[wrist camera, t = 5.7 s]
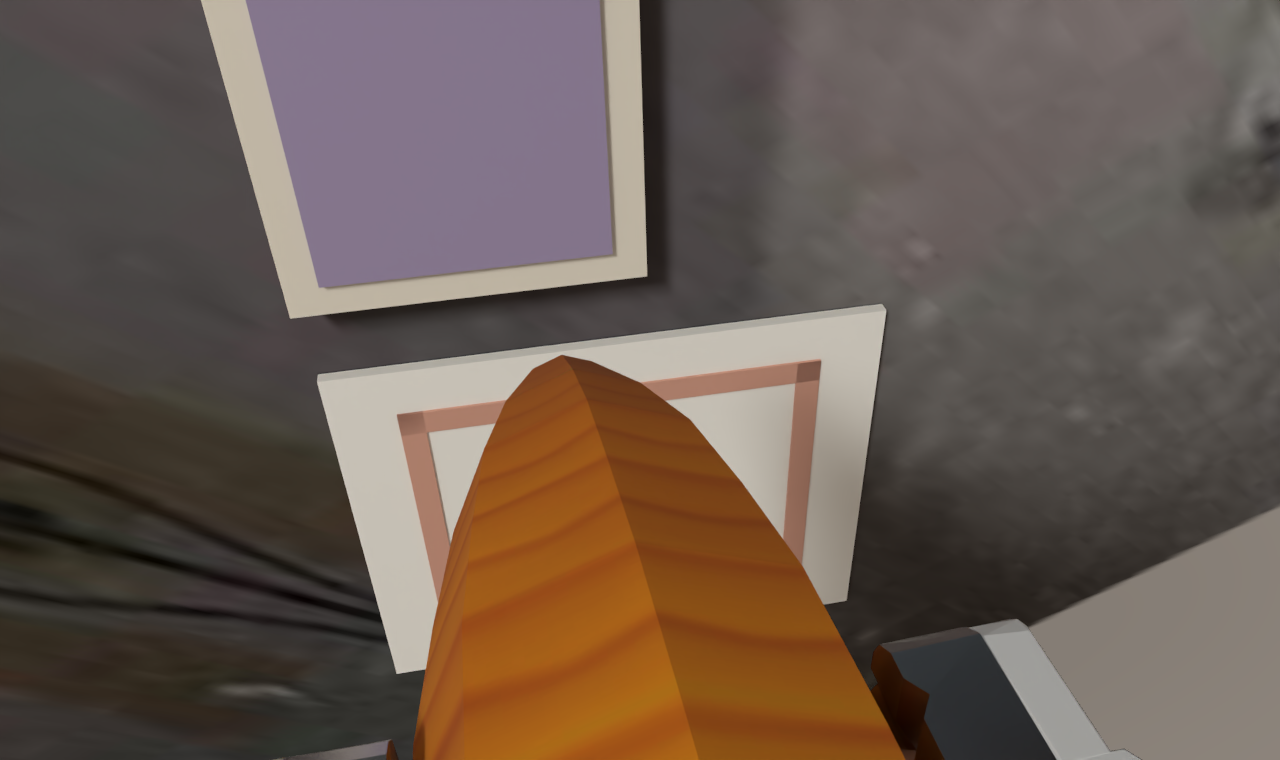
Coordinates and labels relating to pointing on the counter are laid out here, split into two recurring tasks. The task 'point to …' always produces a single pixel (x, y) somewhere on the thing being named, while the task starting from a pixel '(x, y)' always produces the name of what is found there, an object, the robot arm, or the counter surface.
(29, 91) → the counter surface
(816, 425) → the print card
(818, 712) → the carrot
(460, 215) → the ink pad
